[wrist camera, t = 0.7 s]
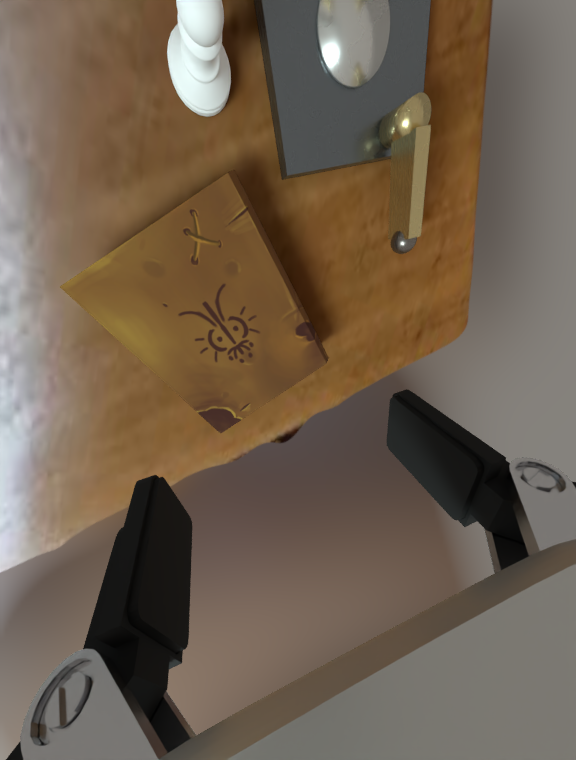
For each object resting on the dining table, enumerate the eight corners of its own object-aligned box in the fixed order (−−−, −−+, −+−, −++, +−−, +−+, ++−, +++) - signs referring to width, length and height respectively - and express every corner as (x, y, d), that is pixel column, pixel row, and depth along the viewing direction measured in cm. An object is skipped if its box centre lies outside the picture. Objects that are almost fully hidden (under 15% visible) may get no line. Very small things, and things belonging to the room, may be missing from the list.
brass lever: (378, 114, 25) (413, 89, 21) (402, 110, 25) (440, 85, 21) (377, 255, 32) (402, 257, 28) (395, 250, 32) (423, 251, 28)
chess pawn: (240, 81, 22) (260, 0, 15) (209, 132, 23) (213, 81, 16) (189, 12, 20) (183, -127, 12) (157, 74, 21) (133, -21, 13)
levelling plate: (229, -158, 17) (238, -288, 13) (424, -149, 19) (485, -255, 15) (282, 179, 27) (297, 168, 23) (406, 155, 29) (440, 141, 25)
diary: (315, 345, 39) (331, 360, 34) (218, 410, 39) (220, 433, 34) (228, 180, 26) (235, 166, 21) (84, 278, 26) (58, 287, 21)
